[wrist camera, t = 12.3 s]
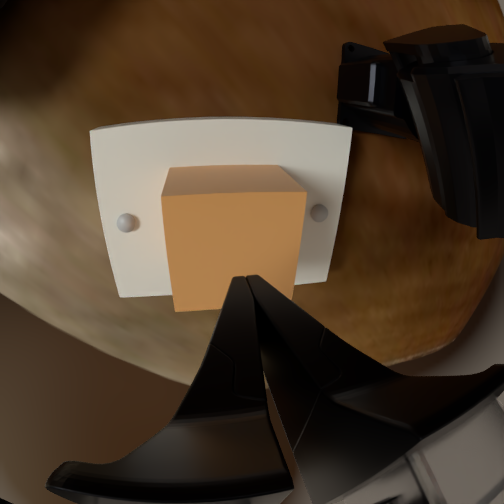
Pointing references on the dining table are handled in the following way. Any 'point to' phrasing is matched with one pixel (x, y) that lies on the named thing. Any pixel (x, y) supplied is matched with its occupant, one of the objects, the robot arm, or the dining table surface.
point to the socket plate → (204, 154)
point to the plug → (230, 230)
